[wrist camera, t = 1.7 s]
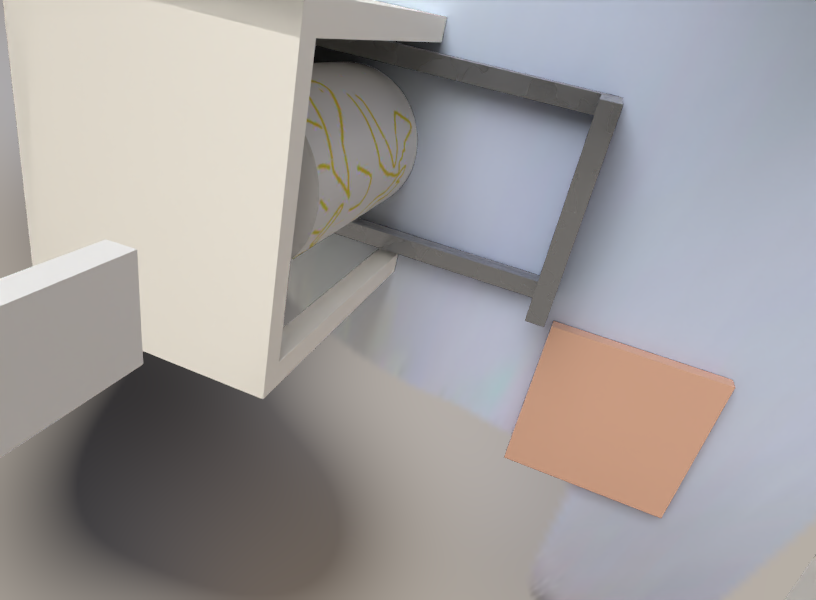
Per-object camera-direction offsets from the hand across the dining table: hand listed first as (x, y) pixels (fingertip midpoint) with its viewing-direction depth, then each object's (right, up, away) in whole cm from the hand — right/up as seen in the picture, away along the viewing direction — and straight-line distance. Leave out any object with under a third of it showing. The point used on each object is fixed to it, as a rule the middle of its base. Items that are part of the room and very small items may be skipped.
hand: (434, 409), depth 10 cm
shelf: (-5, +12, +23) cm, 26 cm away
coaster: (+12, -5, +24) cm, 27 cm away
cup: (-4, +11, +23) cm, 26 cm away
